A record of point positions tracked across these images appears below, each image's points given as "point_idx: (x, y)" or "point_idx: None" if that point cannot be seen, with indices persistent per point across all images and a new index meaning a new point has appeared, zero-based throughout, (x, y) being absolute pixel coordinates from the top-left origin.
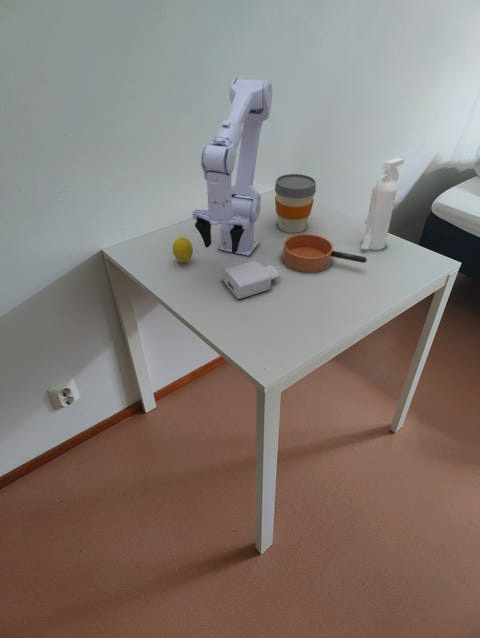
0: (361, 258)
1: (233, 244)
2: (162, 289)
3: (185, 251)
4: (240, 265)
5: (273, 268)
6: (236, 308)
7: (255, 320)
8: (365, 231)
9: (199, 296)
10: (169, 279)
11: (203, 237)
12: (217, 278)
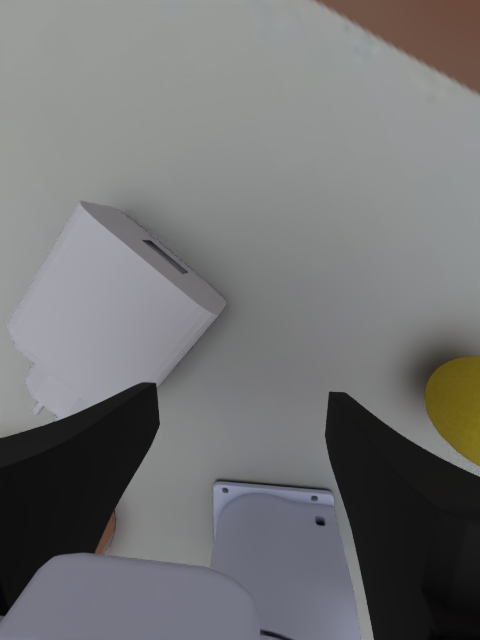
0: None
1: (101, 409)
2: (470, 145)
3: (470, 387)
4: (149, 362)
5: (47, 402)
6: (108, 157)
7: (11, 115)
8: None
9: (280, 169)
10: (465, 235)
11: (379, 431)
12: (263, 317)
